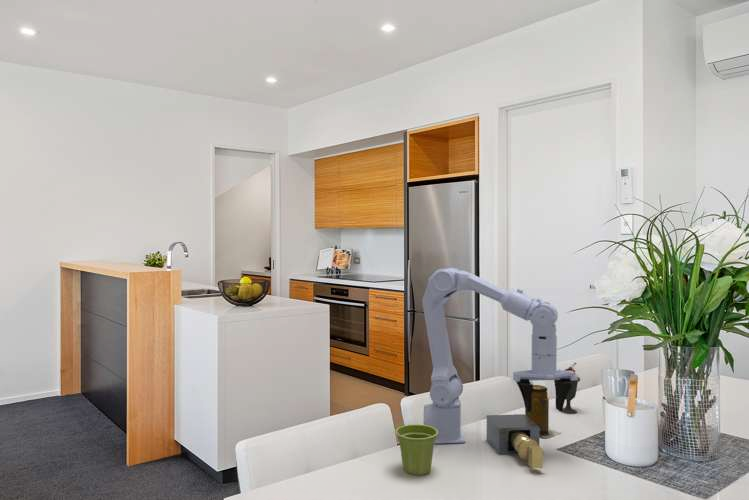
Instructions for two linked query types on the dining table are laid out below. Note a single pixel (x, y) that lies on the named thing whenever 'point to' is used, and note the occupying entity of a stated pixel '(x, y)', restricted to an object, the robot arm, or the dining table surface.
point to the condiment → (540, 411)
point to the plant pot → (416, 447)
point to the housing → (503, 425)
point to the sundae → (571, 393)
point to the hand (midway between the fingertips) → (543, 410)
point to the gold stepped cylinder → (526, 448)
